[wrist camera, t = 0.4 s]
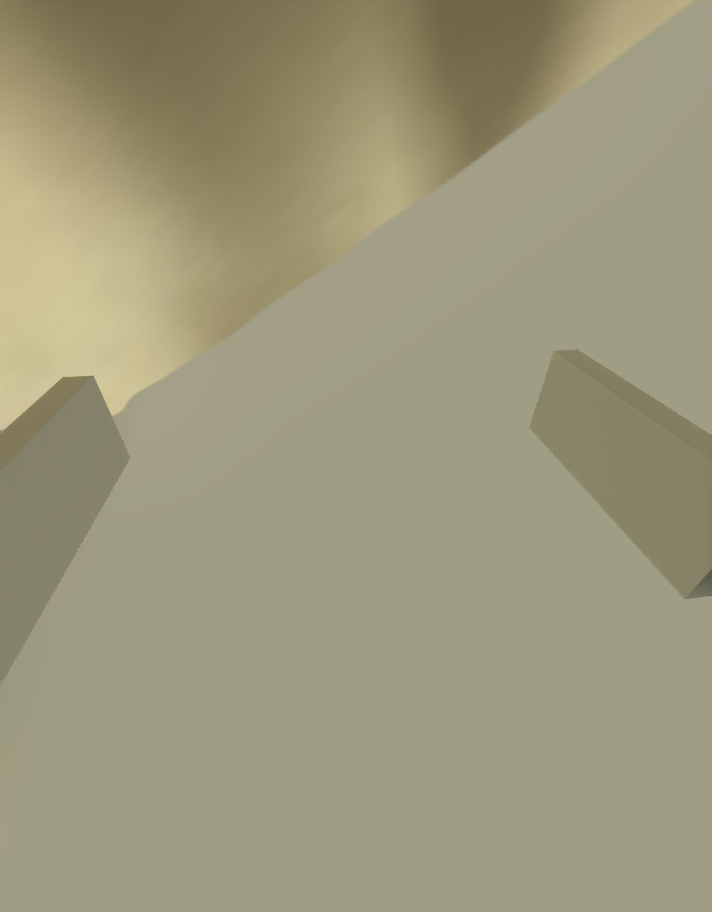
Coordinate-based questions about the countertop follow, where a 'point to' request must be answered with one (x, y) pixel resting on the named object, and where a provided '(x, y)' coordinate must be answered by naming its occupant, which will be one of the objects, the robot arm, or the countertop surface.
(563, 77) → the countertop surface
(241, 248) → the countertop surface
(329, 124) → the countertop surface
